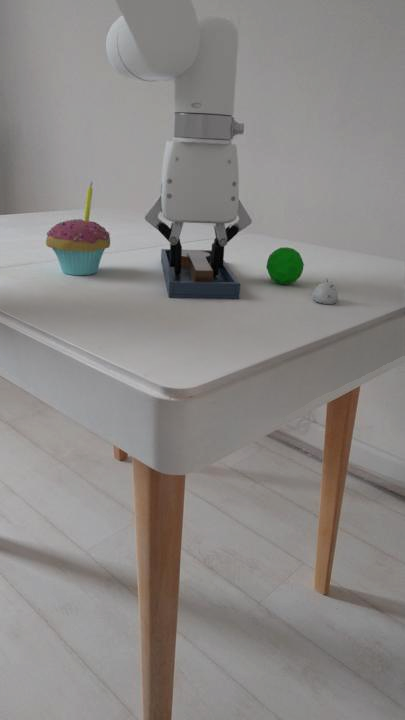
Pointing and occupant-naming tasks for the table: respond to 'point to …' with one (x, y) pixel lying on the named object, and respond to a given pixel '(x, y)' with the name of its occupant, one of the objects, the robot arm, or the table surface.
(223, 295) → the tray
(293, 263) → the polyhedron
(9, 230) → the table surface
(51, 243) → the cupcake
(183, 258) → the disc-ended wooden bar
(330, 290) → the white bumpy lump
